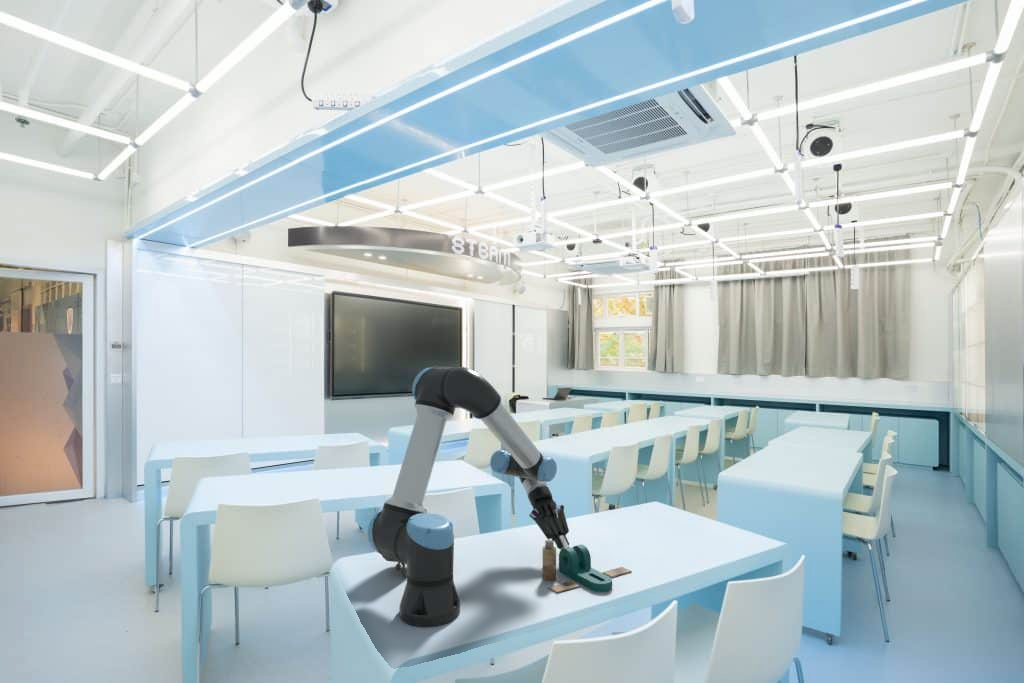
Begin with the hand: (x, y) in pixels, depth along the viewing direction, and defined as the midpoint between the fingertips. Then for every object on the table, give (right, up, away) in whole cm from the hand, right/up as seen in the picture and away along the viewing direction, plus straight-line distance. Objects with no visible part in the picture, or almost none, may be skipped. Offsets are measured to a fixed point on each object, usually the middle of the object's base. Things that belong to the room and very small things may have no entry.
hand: (568, 556), depth 166 cm
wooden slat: (+6, -3, -9) cm, 11 cm away
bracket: (+4, -3, -9) cm, 11 cm away
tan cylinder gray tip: (-7, -3, -9) cm, 11 cm away
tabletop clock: (-51, -4, -1) cm, 51 cm away
